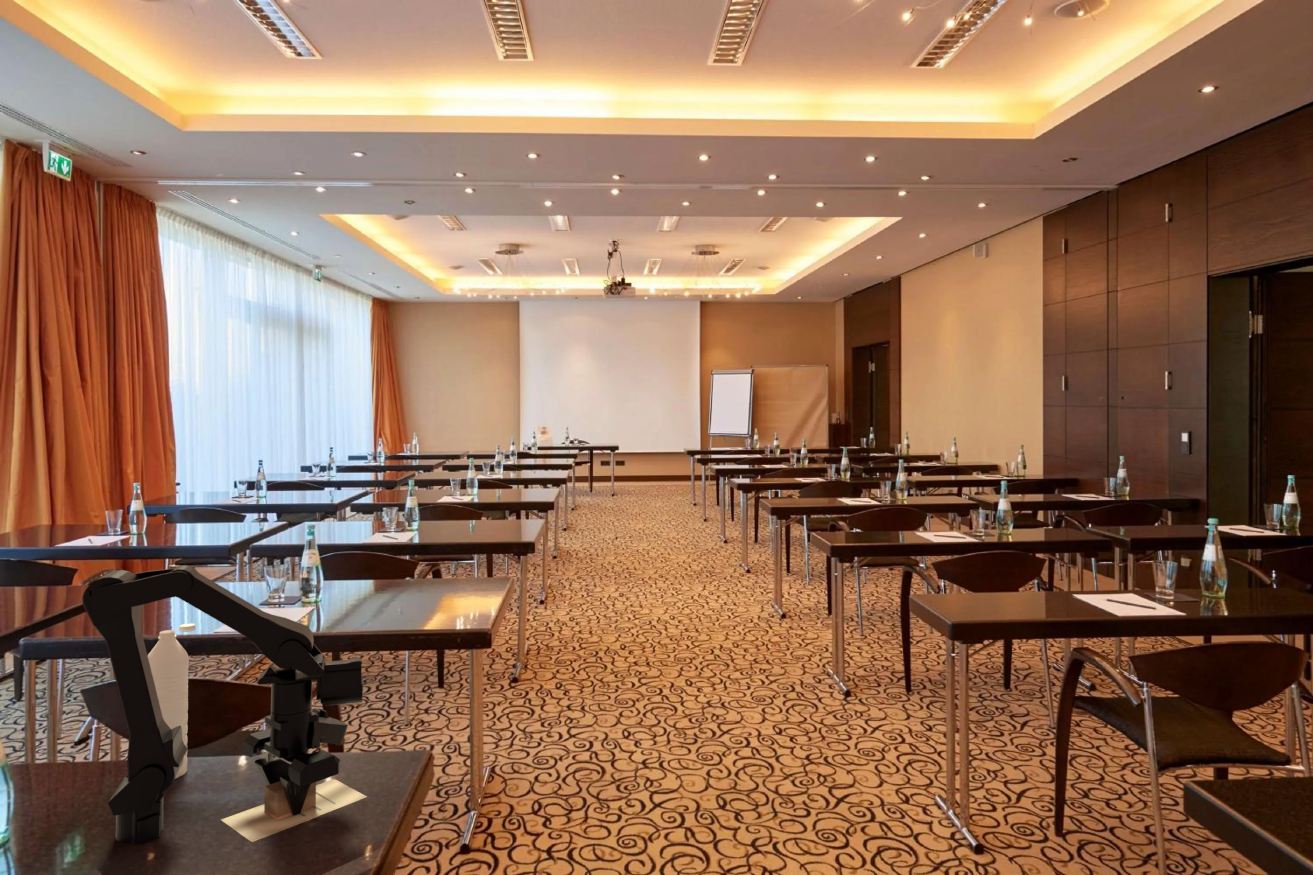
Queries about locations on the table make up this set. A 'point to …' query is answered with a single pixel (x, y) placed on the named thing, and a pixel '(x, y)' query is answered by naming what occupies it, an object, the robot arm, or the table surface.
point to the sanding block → (284, 801)
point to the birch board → (262, 825)
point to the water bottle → (172, 681)
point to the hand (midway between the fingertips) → (289, 809)
